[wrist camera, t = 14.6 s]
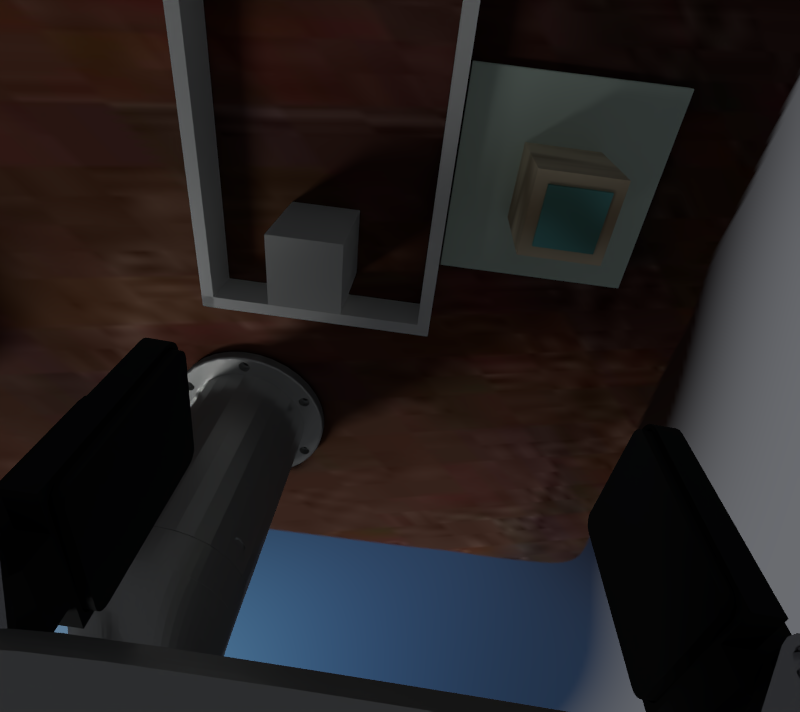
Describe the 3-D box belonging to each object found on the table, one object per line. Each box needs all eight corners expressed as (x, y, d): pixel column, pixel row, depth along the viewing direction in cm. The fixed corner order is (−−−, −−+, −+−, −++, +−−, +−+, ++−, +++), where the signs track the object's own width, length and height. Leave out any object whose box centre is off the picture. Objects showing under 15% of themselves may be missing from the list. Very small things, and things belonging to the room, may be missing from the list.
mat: (615, 284, 35) (618, 288, 34) (440, 261, 35) (440, 264, 35) (690, 87, 28) (694, 89, 28) (472, 60, 28) (472, 61, 28)
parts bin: (429, 315, 38) (427, 336, 35) (219, 286, 38) (203, 305, 35) (484, -38, 26) (487, -43, 23) (180, -75, 26) (152, -84, 24)
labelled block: (578, 226, 32) (601, 267, 27) (507, 217, 32) (516, 256, 27) (601, 152, 30) (632, 182, 25) (524, 142, 30) (539, 169, 25)
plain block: (356, 272, 36) (340, 314, 31) (294, 264, 36) (268, 304, 31) (360, 210, 34) (343, 244, 29) (292, 201, 34) (264, 234, 29)
